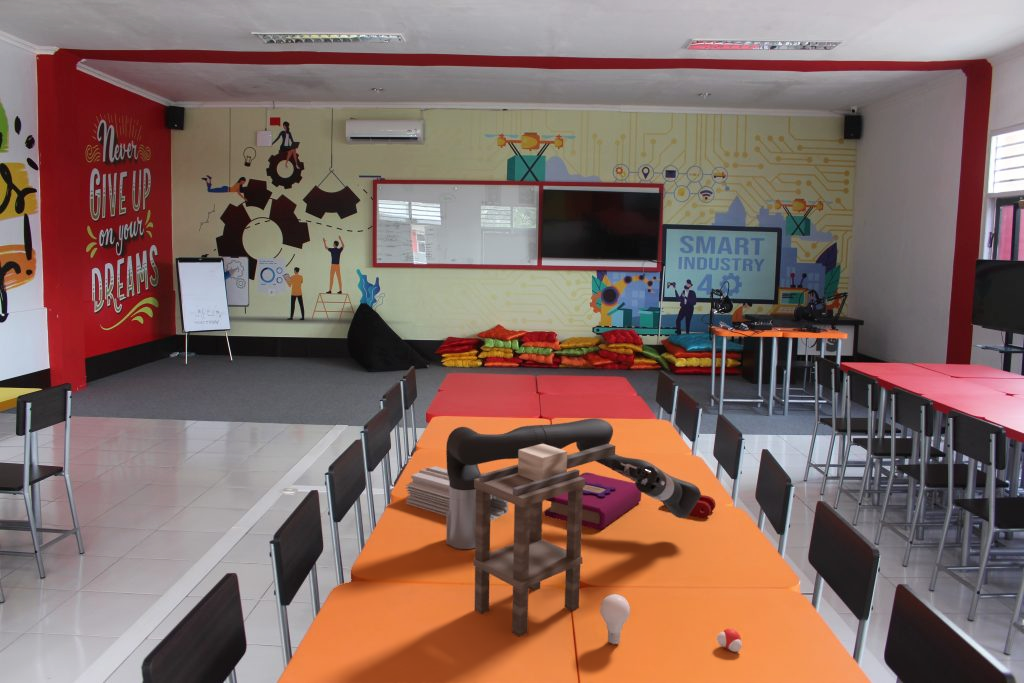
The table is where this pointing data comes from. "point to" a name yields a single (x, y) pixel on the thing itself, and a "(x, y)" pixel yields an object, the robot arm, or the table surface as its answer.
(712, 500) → the mechanical linkage
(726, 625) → the table surface
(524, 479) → the shelf stand
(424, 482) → the stack of papers
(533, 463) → the wooden mallet
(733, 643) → the molecule
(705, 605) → the table surface
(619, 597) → the lightbulb
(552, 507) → the book
